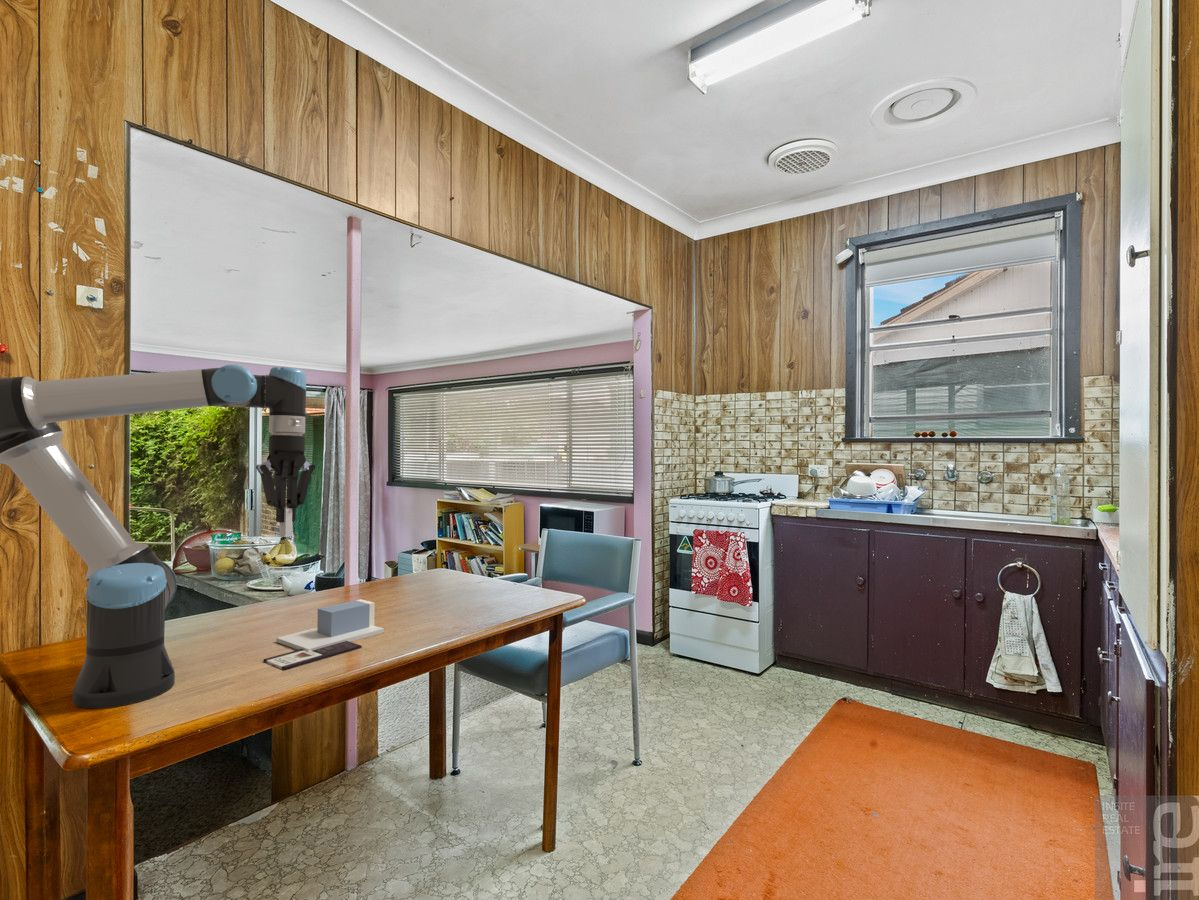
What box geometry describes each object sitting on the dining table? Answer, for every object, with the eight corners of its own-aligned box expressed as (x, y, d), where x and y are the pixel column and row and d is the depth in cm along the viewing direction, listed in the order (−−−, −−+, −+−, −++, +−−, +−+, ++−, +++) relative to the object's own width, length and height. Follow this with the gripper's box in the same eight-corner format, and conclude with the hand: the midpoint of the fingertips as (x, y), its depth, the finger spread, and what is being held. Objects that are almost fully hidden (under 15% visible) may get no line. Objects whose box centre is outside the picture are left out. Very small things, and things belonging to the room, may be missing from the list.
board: (308, 653, 135) (308, 649, 135) (276, 641, 143) (276, 637, 143) (383, 632, 152) (384, 628, 152) (351, 622, 160) (351, 619, 160)
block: (331, 612, 144) (374, 602, 154) (317, 608, 148) (360, 599, 158) (331, 637, 144) (374, 625, 154) (317, 632, 148) (360, 621, 157)
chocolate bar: (361, 645, 140) (285, 667, 125) (361, 649, 140) (285, 672, 125) (339, 638, 145) (263, 659, 130) (339, 642, 145) (263, 663, 130)
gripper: (266, 433, 130) (264, 541, 130) (322, 435, 141) (321, 534, 141) (249, 433, 135) (248, 537, 134) (305, 435, 145) (303, 531, 145)
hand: (285, 536), depth 138 cm, fingers closed
